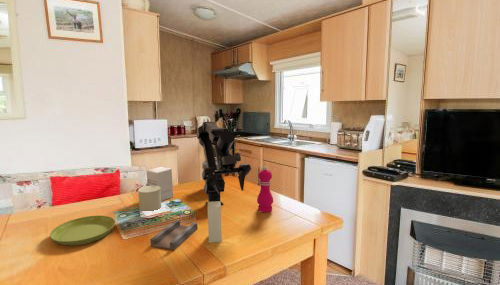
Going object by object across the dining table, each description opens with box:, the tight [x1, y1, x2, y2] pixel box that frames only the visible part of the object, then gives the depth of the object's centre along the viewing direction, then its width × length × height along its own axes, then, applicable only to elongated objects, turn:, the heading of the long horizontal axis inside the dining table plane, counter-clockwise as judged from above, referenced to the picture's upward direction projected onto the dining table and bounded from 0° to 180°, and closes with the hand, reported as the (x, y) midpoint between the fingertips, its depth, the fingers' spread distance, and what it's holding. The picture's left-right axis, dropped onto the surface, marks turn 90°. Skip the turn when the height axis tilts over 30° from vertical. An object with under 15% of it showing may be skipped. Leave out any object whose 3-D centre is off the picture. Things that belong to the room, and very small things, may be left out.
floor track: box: [149, 219, 199, 251], centre depth 99 cm, size 16×9×3 cm, turn 162°
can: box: [137, 185, 162, 212], centre depth 118 cm, size 9×9×12 cm
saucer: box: [49, 215, 116, 247], centre depth 102 cm, size 21×21×3 cm
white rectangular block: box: [207, 200, 223, 244], centre depth 97 cm, size 5×4×13 cm
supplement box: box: [145, 166, 174, 202], centre depth 138 cm, size 9×9×15 cm
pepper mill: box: [256, 166, 274, 213], centre depth 121 cm, size 7×7×20 cm
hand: (231, 192), depth 104 cm, fingers open, 9 cm apart
